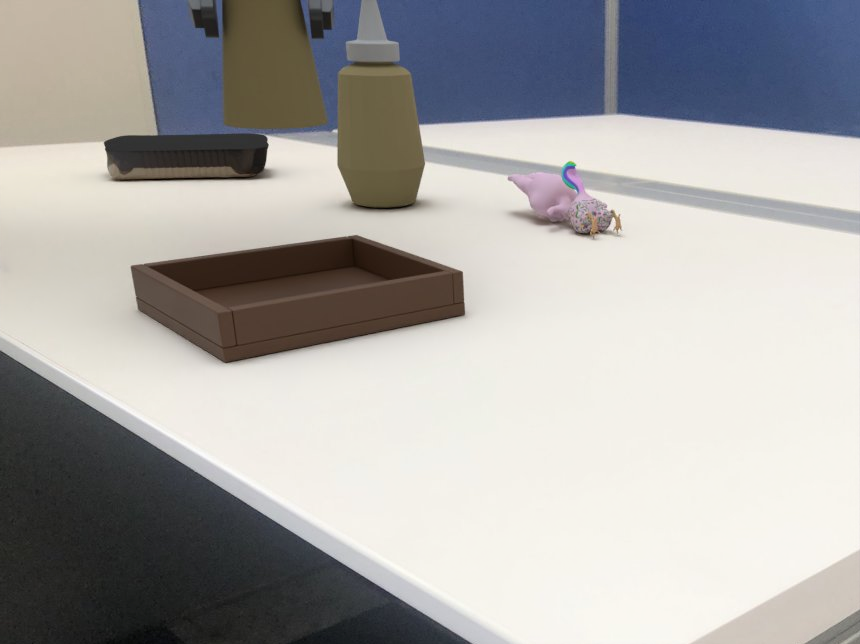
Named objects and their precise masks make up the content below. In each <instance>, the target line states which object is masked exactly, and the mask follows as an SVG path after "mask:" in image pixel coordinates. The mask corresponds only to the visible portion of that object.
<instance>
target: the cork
mask: <svg viewBox="0 0 860 644" xmlns="http://www.w3.org/2000/svg"><path fill="white" fill-rule="evenodd" d="M221 14H222V15H221V16H222V17H221V18H222V19H221V20H222V21H221V24H222V25H221V26H222V28H221V29H222V32H221V33H222V35H221V37H222V124H223V126H226V127H230V128H235V129H236V128H237V129H247V130H249V129H250V130H288V129H289V130H291V129H305V128H314V127H320V126H324V125H327V124H328V123H329V120H328V115H327V111H326V106H325V102H324V98H323V93H322V88H321V85H320V80H319V75H318V71H317V67H316V62H315V58H314V54H313V50H312V45H311V41H310V37H309V32H308V31H309V30H308V28H307V22H306V18H305V13H304V9H303V6H302V1H301V0H221Z"/></svg>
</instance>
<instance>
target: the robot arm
mask: <svg viewBox="0 0 860 644" xmlns="http://www.w3.org/2000/svg"><path fill="white" fill-rule="evenodd" d="M186 3H187V7H188V12H189V17H190V21H191V23H192V24H193V26H194V28H195V29H203V30H204V35H205V38H206V39H220V30H219V18H218V8H217V0H186ZM306 3H307V11H308V12H307V13H308V19H309V28H310V36H311V37H310V38H311V40H325V32H324V31H333V28H334V26H335V6H334V0H306Z"/></svg>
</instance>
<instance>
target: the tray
mask: <svg viewBox="0 0 860 644" xmlns="http://www.w3.org/2000/svg"><path fill="white" fill-rule="evenodd" d="M130 273H131V277H132V284H133V288H134V295H135V301H136V306H137V310H139V311H141V312H142V313H144V314H145V315H147V316H149V317H150V318H152V319H153V320H155V321H156V322H158V323H160V324H162V325H163V326H164V327H166V328H168V329H170V330H171V331H173V332H175V333H176V334H178V335H180V336H181V337H183V338H185V339H186V340H188V341H189V342H191V343H193V344H194V345H196V346H198V347H199V348H200V349H203V350H204V351H206V352H207V353H209V354H210V355H213V356H214V357H216V358H217V359H219V360H220V361H222V362H224V363H228V362H229V363H230V362H234V361H239V360H244V359H249V358H254V357H260V356H263V355H269V354H274V353H279V352H283V351H289V350H293V349H300V348H303V347H309V346H314V345H319V344H320V345H321V344H325V343H329V342H334V341H340V340H345V339H349V338H354V337H359V336H365V335H368V334H374V333H379V332H385V331H389V330H394V329H400V328H405V327H409V326H414V325H418V324H419V325H420V324H423V323H429V322H434V321H438V320H439V321H441V320H444V319H449V318H454V317H460V316H464V315H466V306H465V305H466V304H465V289H464V287H465V286H464V271H463V270H460V269H456V268H454V267H452V266H448V265H446V264H442V263H440V262H437V261H434V260H431V259H427V258H425V257H422V256H419V255H416V254H413V253H410V252H407V251H405V250H403V249H402V250H401V249H399V248H396V247H393V246H390V245H387V244H384V243H381V242H378V241H375V240H372V239H370V238H367V237H364V236H361V235H358V234H352V235H346V236H338V237H331V238H322V239H316V240H309V241H302V242H294V243H287V244H286V243H285V244H280V245H279V244H278V245H272V246H263V247H257V248H250V249H249V248H248V249H243V250H235V251H228V252H219V253H213V254H206V255H205V254H204V255H198V256H191V257H184V258H177V259H168V260H161V261H160V260H159V261H153V262H147V263H140V264H139V263H138V264H133V265H130Z"/></svg>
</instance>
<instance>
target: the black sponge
mask: <svg viewBox="0 0 860 644" xmlns="http://www.w3.org/2000/svg"><path fill="white" fill-rule="evenodd" d="M268 139H269V138H268V137H267V135H265V134H261V133H251V132H250V133H249V132H248V133H247V132H245V133H241V132H240V133H207V134H206V133H204V134H203V133H202V134H201V133H199V134H156V135H155V134H152V135H151V134H150V135H149V134H145V135H144V134H143V135H141V134H139V135H138V134H127V135H119V136H116V137H112V138H108V139H107V140H105V141H103V145H104V150H105V153H106V168H107V172H108V174H109V176H111V177H112V178H115V179H116V180H145V179H147V180H148V179H149V180H151V179H152V180H153V179H188V178H189V179H190V178H191V179H196V178H244V177H245V178H247V177H254V176H257V175H259V174H260V173H262V172H264V169H265V167H266V164H267V157H268V149H269V147H270V146H269V142H268Z"/></svg>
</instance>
